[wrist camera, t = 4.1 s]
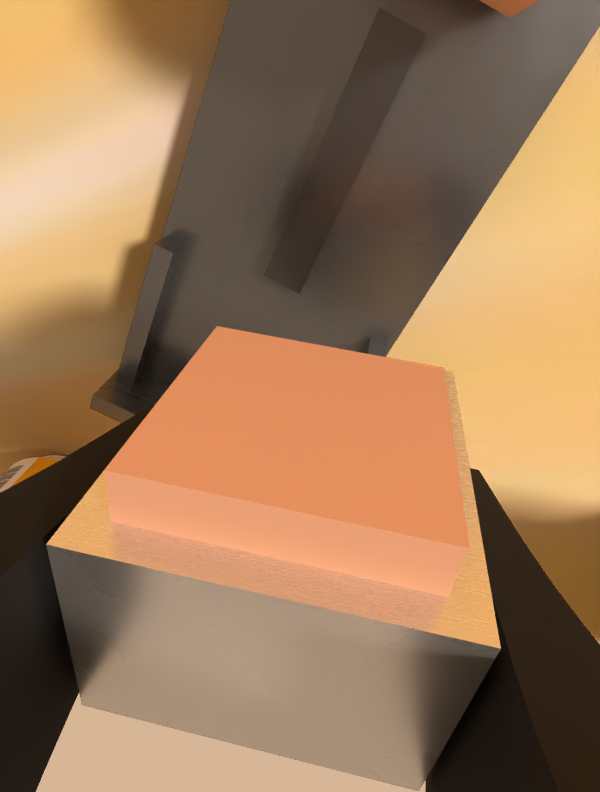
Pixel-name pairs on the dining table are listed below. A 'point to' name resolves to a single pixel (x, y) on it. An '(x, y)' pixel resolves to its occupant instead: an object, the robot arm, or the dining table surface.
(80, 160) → the dining table surface
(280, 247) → the rail
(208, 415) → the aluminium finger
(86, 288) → the dining table surface
